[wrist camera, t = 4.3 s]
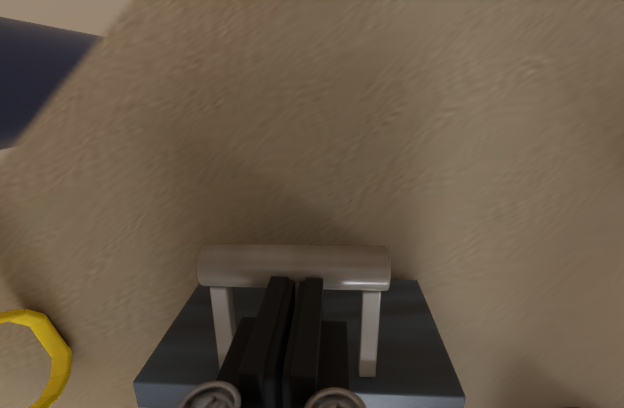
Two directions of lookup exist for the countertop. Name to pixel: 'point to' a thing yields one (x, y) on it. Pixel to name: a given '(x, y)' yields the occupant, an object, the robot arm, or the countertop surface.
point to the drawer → (336, 306)
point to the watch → (52, 345)
